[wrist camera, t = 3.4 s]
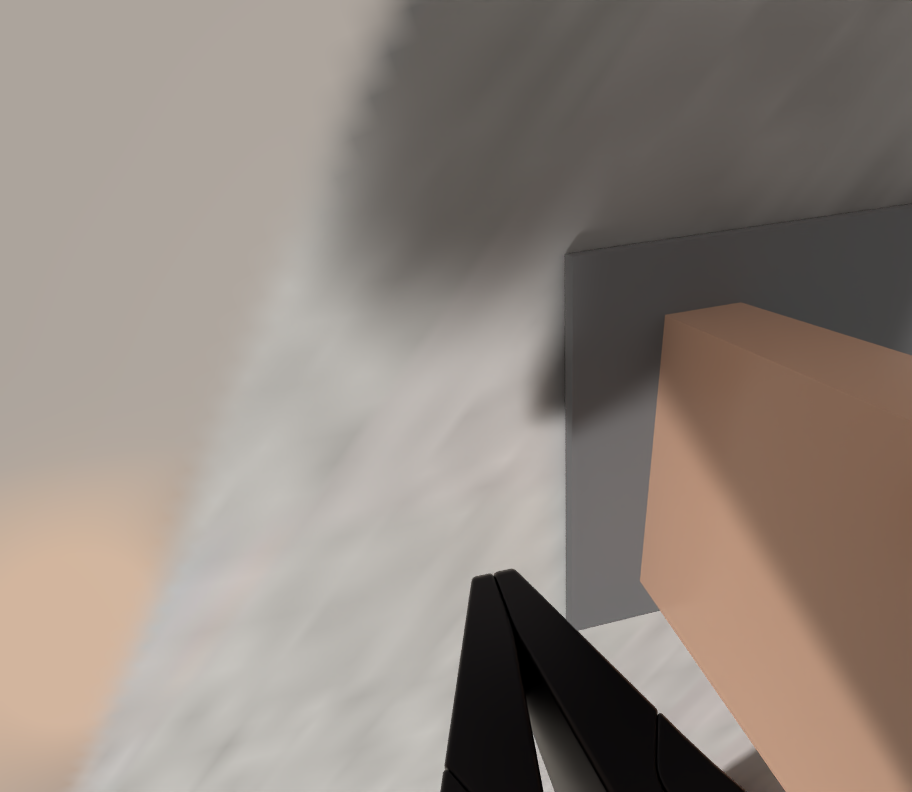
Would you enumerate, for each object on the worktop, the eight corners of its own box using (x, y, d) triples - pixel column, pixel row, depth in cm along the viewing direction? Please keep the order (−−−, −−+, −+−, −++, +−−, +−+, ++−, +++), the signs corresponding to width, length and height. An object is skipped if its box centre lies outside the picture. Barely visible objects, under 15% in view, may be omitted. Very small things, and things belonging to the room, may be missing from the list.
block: (750, 300, 10) (1276, 459, 4) (703, 566, 14) (958, 853, 8) (665, 314, 10) (1100, 503, 4) (639, 581, 13) (852, 887, 7)
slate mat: (1088, 178, 11) (1112, 177, 10) (928, 533, 16) (941, 541, 15) (564, 254, 9) (572, 256, 9) (566, 620, 14) (571, 632, 14)
